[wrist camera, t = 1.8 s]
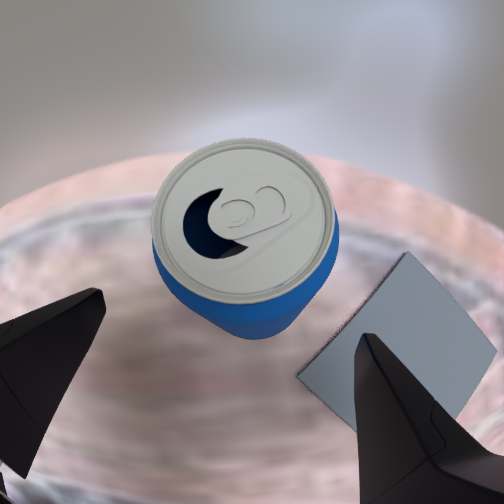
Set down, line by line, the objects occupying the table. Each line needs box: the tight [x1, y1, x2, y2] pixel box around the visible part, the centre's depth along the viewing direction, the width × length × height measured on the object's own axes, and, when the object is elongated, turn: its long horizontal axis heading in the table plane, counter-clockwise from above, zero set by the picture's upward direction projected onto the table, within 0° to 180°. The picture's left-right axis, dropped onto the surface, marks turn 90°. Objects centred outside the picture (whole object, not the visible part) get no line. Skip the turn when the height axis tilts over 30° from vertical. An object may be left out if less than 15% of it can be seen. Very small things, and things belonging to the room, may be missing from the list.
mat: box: [297, 251, 497, 432], centre depth 17 cm, size 12×12×1 cm
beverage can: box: [151, 138, 339, 339], centre depth 15 cm, size 6×6×12 cm
